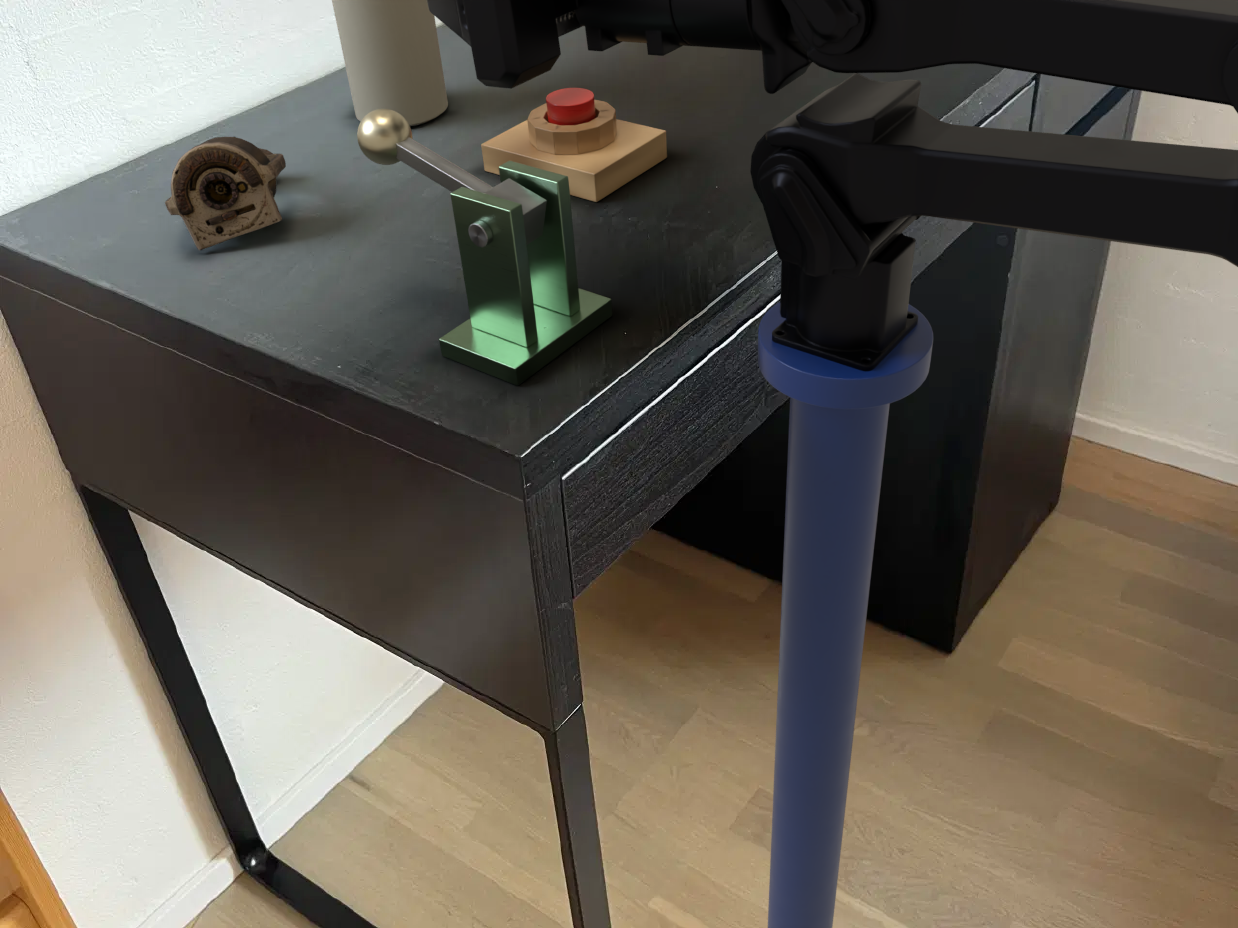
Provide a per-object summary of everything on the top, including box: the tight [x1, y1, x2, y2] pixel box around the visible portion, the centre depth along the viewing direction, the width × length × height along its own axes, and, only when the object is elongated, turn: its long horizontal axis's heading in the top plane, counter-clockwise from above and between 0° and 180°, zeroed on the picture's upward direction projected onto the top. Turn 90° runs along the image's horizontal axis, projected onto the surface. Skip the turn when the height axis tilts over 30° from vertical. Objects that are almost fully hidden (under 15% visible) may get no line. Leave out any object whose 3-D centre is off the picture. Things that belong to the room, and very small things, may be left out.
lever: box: [356, 109, 547, 245], centre depth 66 cm, size 13×3×3 cm, turn 53°
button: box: [545, 87, 596, 125], centre depth 85 cm, size 4×4×2 cm
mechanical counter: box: [164, 136, 287, 252], centre depth 82 cm, size 7×13×10 cm
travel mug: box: [331, 0, 449, 127], centre depth 93 cm, size 8×8×18 cm
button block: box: [480, 98, 668, 203], centre depth 87 cm, size 11×9×4 cm
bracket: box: [438, 161, 613, 387], centre depth 66 cm, size 6×9×10 cm, turn 143°
